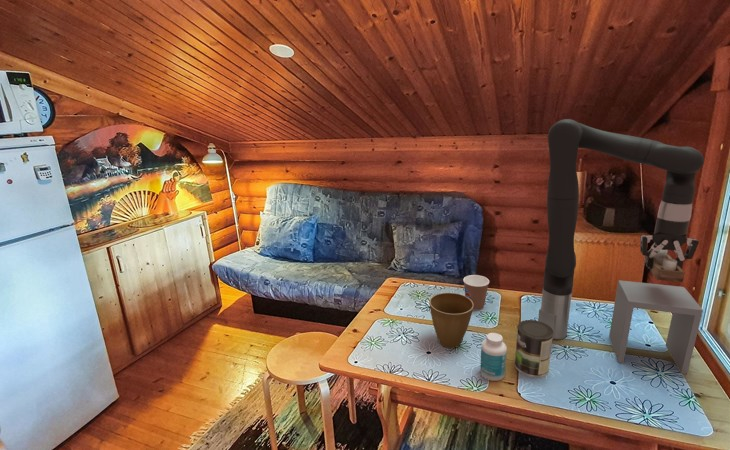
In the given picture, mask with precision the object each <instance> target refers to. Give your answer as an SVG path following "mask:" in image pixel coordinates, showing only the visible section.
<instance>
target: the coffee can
mask: <svg viewBox="0 0 730 450" xmlns="http://www.w3.org/2000/svg"><path fill="white" fill-rule="evenodd" d="M516 330H517V333H516V343H515V344H516V345H515V354H514V355H515V357H514V367H515V368H516V370H517V371H518V372H519V373H521V374H523V375H524V376H526V377H527V376H528V377H530V378H543V377H546V376H547V375H548V374H549V372H550V361H551V354H552V347H553V346H552V345H553V340H552V338H553V334H554V331H553V329H552V328H551V327H550V326H549V325H547V324H545V323H543V322H540V321H538V320H534V319H526V320H525V319H524V320H522V321H520V322H518V323H517V329H516Z"/></svg>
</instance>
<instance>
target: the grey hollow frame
mask: <svg viewBox="0 0 730 450" xmlns="http://www.w3.org/2000/svg"><path fill="white" fill-rule="evenodd" d="M613 304H614V305H613V311H612V312H613V313H612V317H611V322H610V323H611V324H610V328H609V329H610V330H609V335H608V337H609V341H610V345H611V346H612V349H614V350H613V352H615V353H614V355H615V359H616V361H617V363H618V362H619V364H624V362H625V355H626V351H627V346H628V341H629V336H630V334H629V333H630V329H631V325H632V324H631V323H632V318H633V313H634V309H640V310H648V311H657V312H665V313H671V317H670V318H671V319H670V324H669V329H668V332H667V336H666V342H665V347H666V349H667V351H668V352H669V354H670V356H671V357H672V360H673V361H674V362H675V365H676V367H677V368H678V371H679V372H680V374H683V375H688V373H689V369H690V365H691V360H692V357H693V352H694V349H695V344H696V340H697V335H698V332H699V328H700V324H701V321H702V316H703V312H704V311H703V310H704V309H703V308H702V307H701V306H700V305H699V303H698V302H697V300H696V299H695V298H694V297H693V296H692V295H691V294H690V292H689V291H688V290H687V289H686V288H685V287H684V286H679V285H677V286H676V285H668V284H657V283H648V282H647V283H646V282H638V281H628V280H621V279H619V280H617V286H616V293H615V299H614V303H613Z"/></svg>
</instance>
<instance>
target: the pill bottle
mask: <svg viewBox="0 0 730 450" xmlns="http://www.w3.org/2000/svg"><path fill="white" fill-rule="evenodd" d="M503 339H504V338H503V336H502V335H501V334H500V333H497V332H490V333H489V332H488V333H487V334H486V339H484V340H483V341H482V343H481V349H480V365H479V366H480V369H479V371H480V374H481V376H482V377H483V378H485V379H486V380H488V381H493V382H497V381H501V380H504V378H505V376H506V364H507V354H508V353H507V352H508V351H507V349H508V348H507V345H506V344H505V343H506V342H504V340H503Z"/></svg>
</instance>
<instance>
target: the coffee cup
mask: <svg viewBox="0 0 730 450" xmlns="http://www.w3.org/2000/svg"><path fill="white" fill-rule="evenodd" d="M462 281H463V286H464V287H463V288H464V296H466V297H468V298H469V299H471V301H472V302H473V305H474V306H473V310H472V311H481V310H483V309H484V307H485V305H486V300H487V299H486V298H487V294H488V293H487V292H488V289H489V284H490V280H489V279H488V278H487V277H486V276H483V275H479V274H471V275H466V276H464V278H463V280H462Z"/></svg>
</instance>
